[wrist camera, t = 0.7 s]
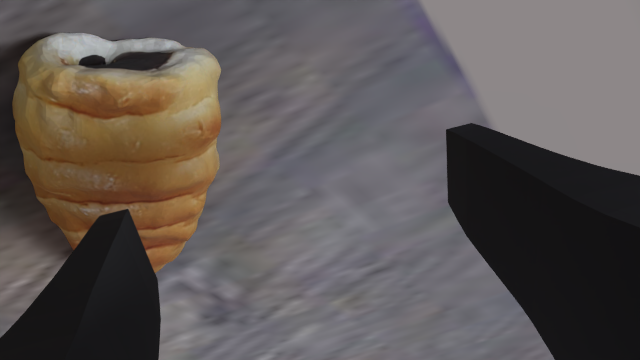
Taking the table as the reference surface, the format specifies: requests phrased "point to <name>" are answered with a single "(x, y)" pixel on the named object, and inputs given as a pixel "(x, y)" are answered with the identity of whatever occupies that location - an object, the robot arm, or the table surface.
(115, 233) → the robot arm
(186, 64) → the pastry
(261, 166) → the table surface
